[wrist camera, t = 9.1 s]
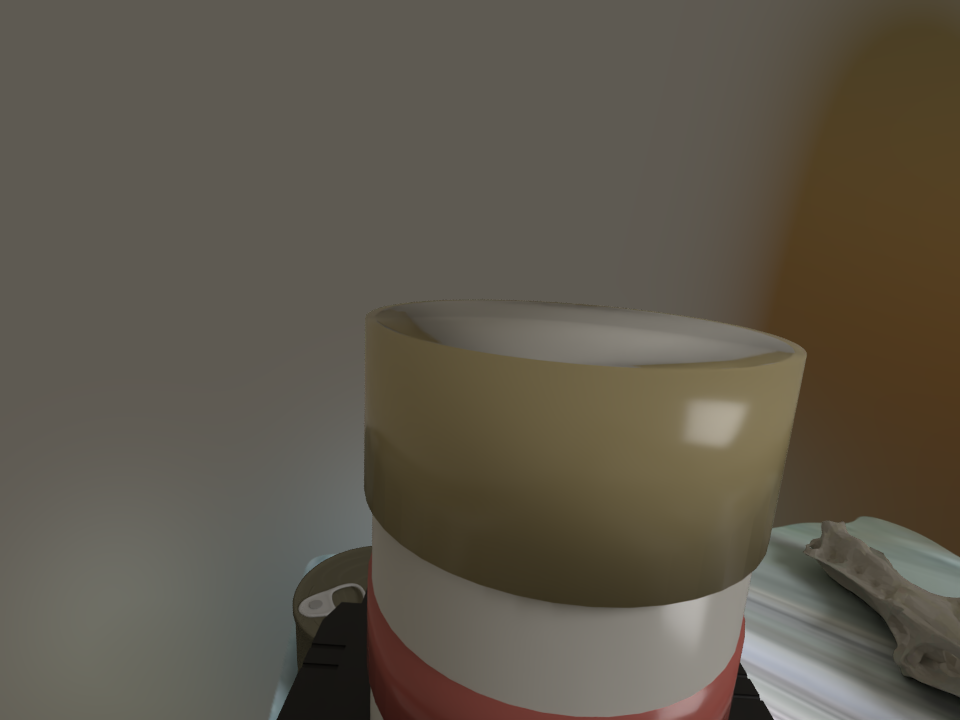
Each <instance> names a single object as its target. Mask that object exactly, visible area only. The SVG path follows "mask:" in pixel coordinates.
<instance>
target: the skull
mask: <svg viewBox="0 0 960 720" xmlns="http://www.w3.org/2000/svg"><path fill="white" fill-rule="evenodd" d="M821 528H822V535H821V538H818V539H813V540H812V541H811V542H810V544H807V545H806V549H805V551H803V552H804V553H805V554H806V555H808V556H810V557H812V558H815V559H816V560H817V561H818V563H819V564H820V565H821V566H822V568H823V569H824V570H825V571H826V573H827V574H828V575H829V576H830V577H831V578H833V579H834V580H835V581H837V582H838V583H839V584H840V585H842V586H843V587H845V588H846V589H848V590H850V591H852V592H853V593H854V594H856V595H857V596H858V597H860V598H861V599H863V600H864V601H865V602H866V603H867V604H868V605H869V606H870V607H872V608H873V609H874V610H875V611H876V612H877V613H879V614H880V615H881V616H882V617H883V619H884V620H885V621H886V623H887V625H888V627H889V628H890V630H891V632H892V634H893V636H894V637H895V640H896V642H897V648H896V649H895V651H894V653H893V659H894V661H895V663H896V664H897V665H898V666H899V667H900V669H901V672H902V674H903V676H909V677H912V678H914V679H916V680H918V681H920V682H922V683H925V684H927V685H930V686H932V687H935V688H938V689H940V690H943V691H946V692H948V693H951V694H954V695H956V696H958V697H960V598H951V597H943V596H939V595H935V594H933V593H930V592H928V591H926V590H924V589H922V588H920V587H918V586H916V585H914V584H912V583H910V582H909V581H908V580H906V579H905V578H903V577H902V576H901V575H900V574H899V573H898V572H897V571H896V570H895V569H894V568H893V567H892V565H891V563H890V562H889V560H888V559H887V558H886V557H885V555H884V554H883V553H882V552H880V551H877V550H875V549H873V548H871V547H870V548H869V547H868V546H867V545H866V544H865V543H864V542H863V541H862V540H860V539H857V538H855V537H853V536H851V535H849V534H848V532H847V529H846V526H845V523H844V522H843V521H842V522H841V523H835V522H831V521H824V522H822V525H821ZM809 547H811V548H812V549H811V548H809Z"/></svg>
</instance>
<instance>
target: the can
mask: <svg viewBox="0 0 960 720" xmlns="http://www.w3.org/2000/svg"><path fill="white" fill-rule="evenodd" d="M371 553H372V546H368V547H362V548H356V549H352V550H348V551H345V552H342V553H339V554H337V555H334V556H332V557H330V558H328V559H326V560H325V561H323V562H321V563H320V564H318V565H317V566H315V567H314V568H313V569H312V570H311V571H309V572H308V573H307V574H306V575H305V577H304V578H303V579H302V580H301V582H300V583H299V585H298V587H297V589H296V591H295V594H294V598H293V616H294V619H295V622H296V639H297V663H298V672H299V670H300V668H302V666H303V661H304V659H305V657H306V655H307V652H308V650H309V648H311V646H312V642H313V639H314V637H315V635H316V633H317V631H318V629H319V626H320V624H321V622H322V620H323V619H324V618H325V617H326V616H327V615H328V614H329V613H331V612H332V611H333V610H334V609H335V608H336V607H337V606H338V605H339V604H340V603H341V602H350V603H362V601H363V598H364V595H365V593H366V590H367V587H368V566H369V560H370V557H371Z"/></svg>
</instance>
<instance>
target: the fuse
mask: <svg viewBox="0 0 960 720" xmlns="http://www.w3.org/2000/svg"><path fill="white" fill-rule="evenodd" d="M806 356H807V353H806V352H805V350H804V349H803V348H801V347H800V346H799V345H797V344H795V343H793V342H791V341H789V340H786V339H784V338H781V337H778V336H775V335H772V334H768V333H764V332H761V331H758V330H753V329H749V328H745V327H741V326H736V325H732V324H727V323H722V322H716V321H711V320H705V319H699V318H693V317H687V316H681V315H674V314H666V313H660V312H652V311H643V310H636V309H627V308H617V307H607V306H597V305H584V304H572V303H558V302H541V301H517V300H439V301H438V300H437V301H422V302H410V303H401V304H395V305H389V306H385V307H381V308H378V309H375V310H372V311H371V312H369V313H368V314H367V315H366V318H365V440H364V443H365V445H364V446H365V447H364V448H365V449H364V450H365V451H364V491H365V496H366V501H367V504H368V506H369V508H370V510H371V512H372V514H373V522H372V526H373V527H372V553H371V557H370V560H369V566H368V594H367V668H368V676H369V683H370V686H371V693H370V720H728V719H729V714H730V709H731V704H732V699H733V693H734V688H735V683H736V678H737V673H738V668H739V663H740V658H741V653H742V648H743V643H744V638H745V618H744V610H745V605H746V600H747V595H748V590H749V585H750V579H751V574H752V572H753V571H754V570H755V569H756V568H757V567H758V565H759V564H760V562H761V561H762V559H763V558H764V556H765V555H766V552H767V548H768V544H769V541H770V536H771V531H772V526H773V520H774V515H775V511H776V506H777V500H778V495H779V490H780V485H781V481H782V476H783V471H784V465H785V461H786V456H787V450H788V446H789V441H790V436H791V431H792V426H793V421H794V416H795V411H796V406H797V401H798V396H799V391H800V386H801V381H802V376H803V371H804V366H805V361H806Z"/></svg>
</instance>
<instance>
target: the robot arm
mask: <svg viewBox="0 0 960 720" xmlns="http://www.w3.org/2000/svg"><path fill="white" fill-rule="evenodd" d="M367 594H368V587H367V590H366V593H365V595H364V598H363V601H362V603H350V602H341V603H340V604H339V605H338V606H337V607H336V608H335V609H334V610H333V611H332V612H331V613H329V614H328V615H327V616H326V617H325V618H324V619H323V620H322V622H321V624H320V626H319V629H318V631H317V633H316V635H315V637H314V639H313V642H312V646H311V648H309V650H308V652H307V655H306V657H305V659H304V661H303V666H302V668H300V670H299V672H298V674H297V676H296V679H295V681H294V683H293V685H292V687H291V689H290V692H289V694H288V696H287V698H286V700H285V702H284V705H283V707H282V709H281V711H280V713H279V716H278V718H277V720H370V693H371V686H370V683H369V676H368V668H367ZM728 720H774V719H773V717H772V716H771V714H770V712H769V710H768V709H767V707H766V705H765V704H764V702H763V701H760V698H759V694H758V692H757V690H756V689H755V687H754V685H753V683H752V682H751V680H750V679H748V678H747V673H746V672H745V670H744V668H743V667H742V665H741V663H739V668H738V673H737V678H736V683H735V688H734V693H733V699H732V704H731V709H730V714H729V719H728Z"/></svg>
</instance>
